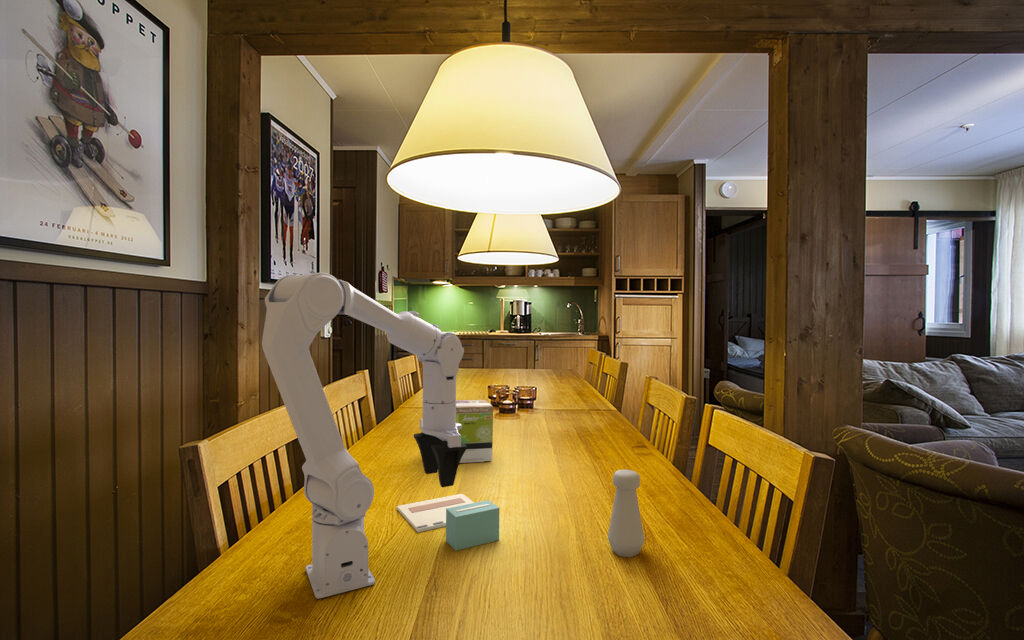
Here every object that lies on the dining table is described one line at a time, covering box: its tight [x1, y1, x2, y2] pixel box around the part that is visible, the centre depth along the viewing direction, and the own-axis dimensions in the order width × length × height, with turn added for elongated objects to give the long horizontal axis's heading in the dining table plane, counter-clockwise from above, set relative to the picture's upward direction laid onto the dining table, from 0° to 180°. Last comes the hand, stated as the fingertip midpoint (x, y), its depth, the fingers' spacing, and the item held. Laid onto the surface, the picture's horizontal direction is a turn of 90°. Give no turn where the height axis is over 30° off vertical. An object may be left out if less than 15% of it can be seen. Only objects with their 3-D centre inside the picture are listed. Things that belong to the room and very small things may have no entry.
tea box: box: [442, 399, 494, 464], centre depth 134 cm, size 15×10×15 cm, turn 105°
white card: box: [396, 493, 475, 533], centre depth 98 cm, size 12×14×1 cm
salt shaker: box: [607, 469, 645, 558], centre depth 83 cm, size 6×6×13 cm
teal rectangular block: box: [445, 499, 500, 552], centre depth 87 cm, size 4×8×6 cm, turn 120°
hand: (438, 479), depth 89 cm, fingers open, 7 cm apart
